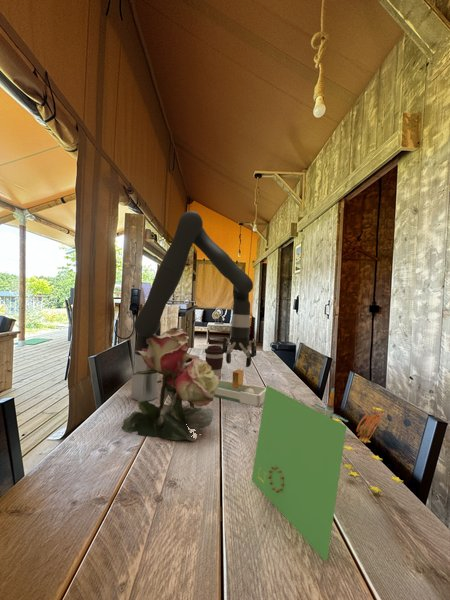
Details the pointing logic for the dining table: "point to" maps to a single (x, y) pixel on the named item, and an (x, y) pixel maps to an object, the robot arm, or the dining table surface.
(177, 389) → the rose bouquet
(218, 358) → the coffee cup
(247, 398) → the cream tray
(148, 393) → the robot arm
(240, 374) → the orange upright block
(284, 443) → the green panel with ring
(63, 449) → the dining table surface
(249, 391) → the ball
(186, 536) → the dining table surface
